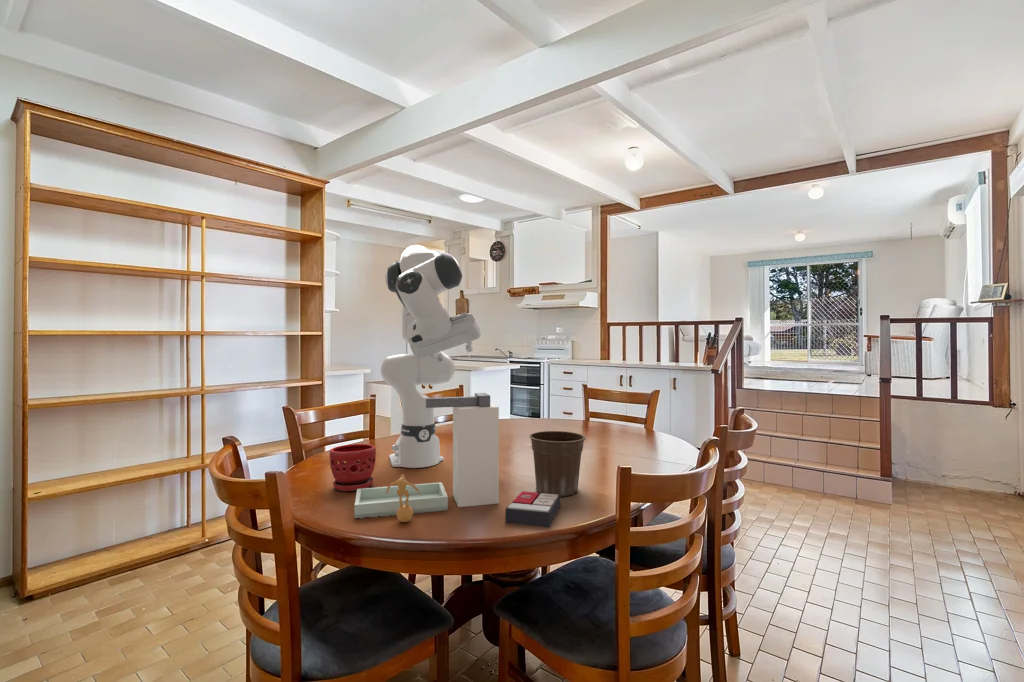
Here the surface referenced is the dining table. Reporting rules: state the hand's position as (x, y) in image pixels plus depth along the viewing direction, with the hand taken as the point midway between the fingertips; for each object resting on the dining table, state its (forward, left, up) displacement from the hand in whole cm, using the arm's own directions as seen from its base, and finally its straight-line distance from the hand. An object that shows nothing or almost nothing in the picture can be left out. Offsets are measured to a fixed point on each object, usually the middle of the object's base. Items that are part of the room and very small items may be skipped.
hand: (455, 355), depth 142 cm
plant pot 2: (+17, +25, -40) cm, 50 cm away
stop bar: (+10, -4, -14) cm, 18 cm away
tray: (+7, -19, -40) cm, 44 cm away
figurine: (+19, -22, -40) cm, 49 cm away
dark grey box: (+29, +9, -40) cm, 50 cm away
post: (+12, +1, -40) cm, 41 cm away
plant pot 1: (-17, -26, -40) cm, 51 cm away
